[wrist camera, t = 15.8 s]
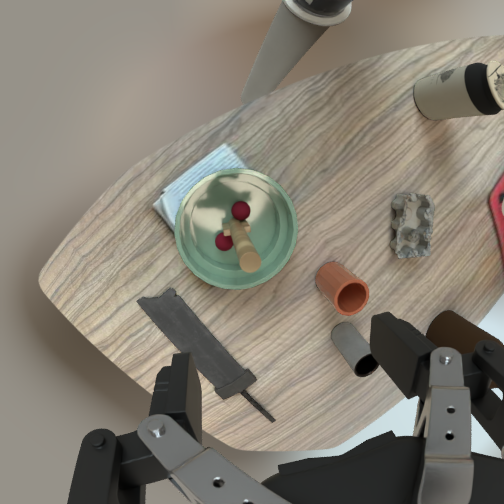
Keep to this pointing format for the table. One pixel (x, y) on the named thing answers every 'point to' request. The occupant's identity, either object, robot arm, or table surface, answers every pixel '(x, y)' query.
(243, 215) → the bead
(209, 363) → the toy broadsword
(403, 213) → the egg carton
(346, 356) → the grey tube
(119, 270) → the table surface
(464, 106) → the travel mug
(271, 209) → the bowl
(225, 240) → the bead
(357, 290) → the utensil pot
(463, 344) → the olive oil
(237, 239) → the wooden stick
